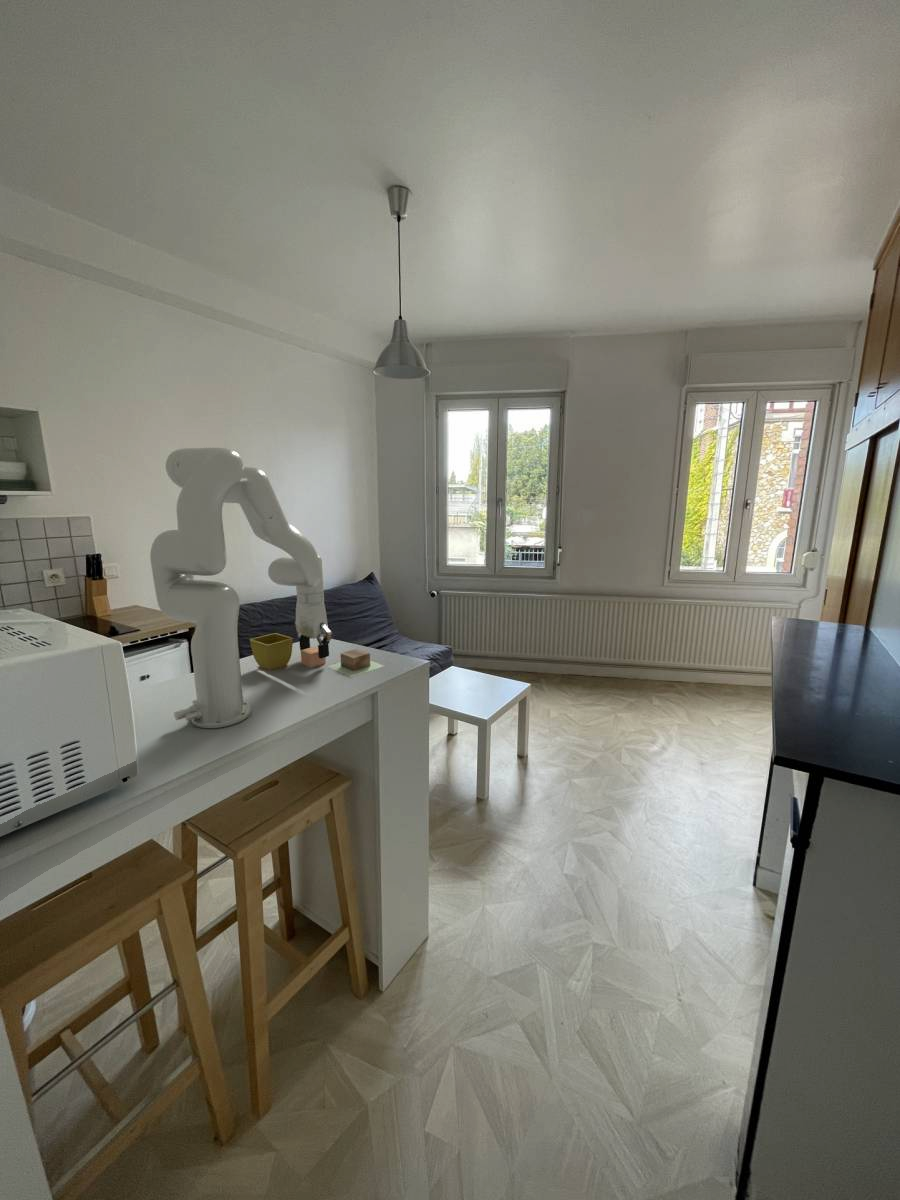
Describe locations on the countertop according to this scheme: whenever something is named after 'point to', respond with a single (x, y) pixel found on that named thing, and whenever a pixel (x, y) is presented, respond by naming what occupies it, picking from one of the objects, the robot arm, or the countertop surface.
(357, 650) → the base block
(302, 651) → the cube
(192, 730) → the countertop surface
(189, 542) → the robot arm
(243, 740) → the countertop surface
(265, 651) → the flower pot
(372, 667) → the plate
